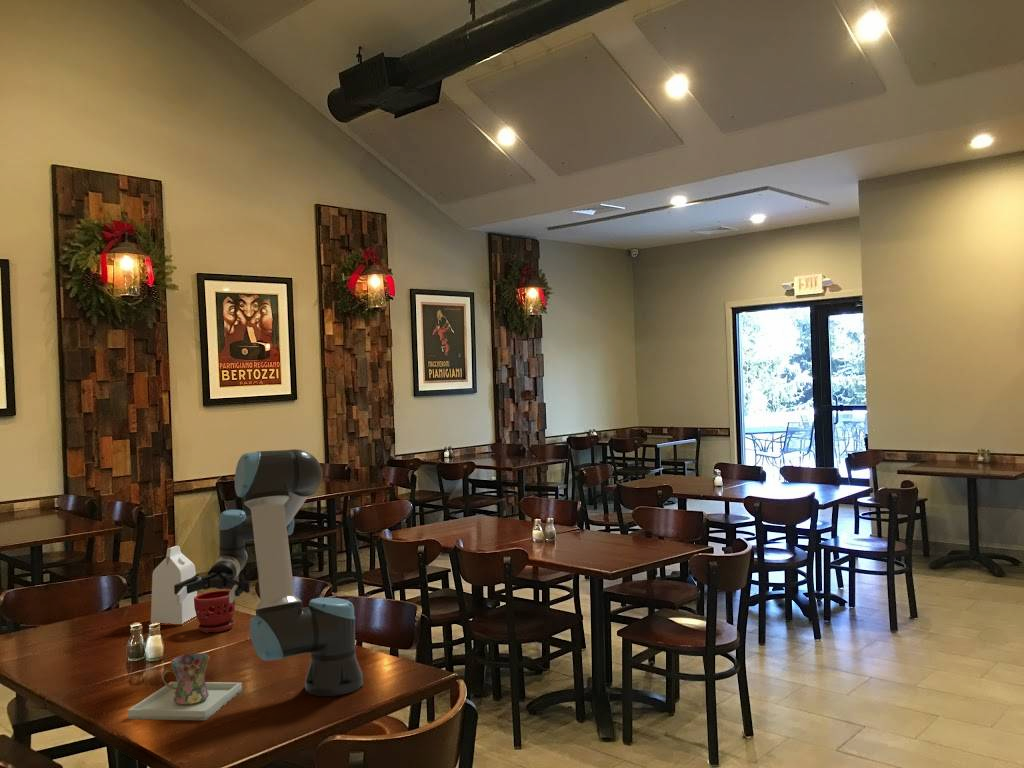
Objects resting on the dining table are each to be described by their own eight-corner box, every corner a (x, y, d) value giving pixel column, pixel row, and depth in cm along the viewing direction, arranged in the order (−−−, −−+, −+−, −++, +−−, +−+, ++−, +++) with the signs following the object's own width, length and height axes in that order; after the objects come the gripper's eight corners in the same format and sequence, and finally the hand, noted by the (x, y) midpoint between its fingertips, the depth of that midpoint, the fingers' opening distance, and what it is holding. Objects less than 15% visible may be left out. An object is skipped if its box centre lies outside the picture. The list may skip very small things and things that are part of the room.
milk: (168, 616, 303) (166, 544, 303) (198, 616, 301) (196, 544, 302) (150, 625, 291) (148, 550, 291) (182, 625, 289) (180, 550, 290)
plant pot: (231, 621, 293) (230, 587, 293) (239, 630, 281) (238, 594, 281) (191, 628, 286) (190, 593, 286) (198, 637, 275) (197, 600, 275)
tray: (242, 690, 223) (241, 682, 223) (205, 720, 203) (205, 711, 203) (171, 689, 225) (171, 681, 225) (128, 718, 205) (127, 709, 205)
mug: (200, 691, 221) (198, 650, 221) (217, 699, 215) (216, 657, 215) (154, 704, 212) (153, 662, 212) (171, 713, 206) (170, 670, 206)
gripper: (267, 583, 247) (252, 611, 226) (180, 586, 245) (156, 613, 224) (267, 559, 246) (251, 584, 225) (179, 561, 244) (155, 586, 223)
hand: (204, 599), depth 225 cm, fingers open, 13 cm apart
